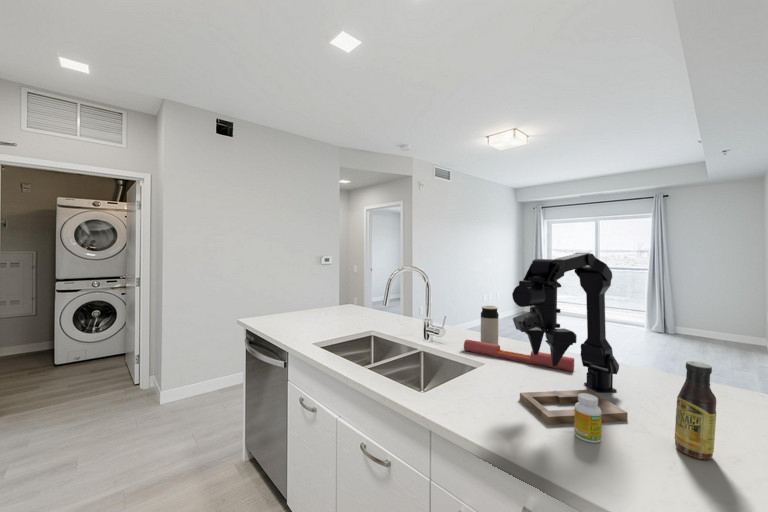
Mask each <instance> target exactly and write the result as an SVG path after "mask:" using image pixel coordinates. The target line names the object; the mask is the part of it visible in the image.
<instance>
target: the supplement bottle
mask: <svg viewBox="0 0 768 512" xmlns="http://www.w3.org/2000/svg"><path fill="white" fill-rule="evenodd" d="M578 401H579V402H577V403H574V409H575V423H574V435H575V436H576V438H578V439H579V440H582V441H584V442H587V443H591V444H596V443H599V442H601V440H602V422H601V409H600V408H599V407H598V406H597V405H598V398H597V397H596V396H594V395H591V394H587V393H580V394H578Z"/></svg>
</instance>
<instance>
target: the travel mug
mask: <svg viewBox="0 0 768 512" xmlns="http://www.w3.org/2000/svg"><path fill="white" fill-rule="evenodd" d="M498 308H499V307H498V306H496V305H481V312H480V342H484V343H490V344H496V345H499V313H498Z"/></svg>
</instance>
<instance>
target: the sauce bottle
mask: <svg viewBox="0 0 768 512" xmlns="http://www.w3.org/2000/svg"><path fill="white" fill-rule="evenodd" d="M685 369H686V373H685V374H686V376H685V381H684V383H683V384H682V387H681V389H680V391H679V393H678V395H677V397H676V407H675V426H674V427H675V428H674V441H675V442H674V445H675V447H676V449H677V450H678V451H679V452H681V453H683V454H685V455H687V456H690V457H692V458H694V459H698V460H706V461H707V460H710V459H712V458H713V456H714V455H713V454H714V452H715V438H716V437H715V436H716V421H717V410H716V409H717V398H716V396H715V393H714V392H713V391H712V389H711V382H710V381H711V374H712V373H713V367H712V366H711V365H709V364H708V363H704V362H701V361H693V360H689V361H686V363H685Z"/></svg>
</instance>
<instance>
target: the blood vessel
mask: <svg viewBox="0 0 768 512" xmlns="http://www.w3.org/2000/svg"><path fill="white" fill-rule="evenodd" d="M463 350H464V351H465V350H466V351H465V352H469V351H471V352H470V353H474V352H476V353H475V354H479V353H481V354H480V355H484V354H486V355H485V356H490V355H491V357H495V356H496V358H500V357H501V358H500V359H505V358H506V360H510V359H511V361H515V360H516V362H520V361H521V363H525V362H526V364H530V363H531V364H532V365H537V366H540V367H545V368H551V367H552V369H556V368H557V370H562V371H566V372H574V370H575V358H574V357H571V356H565V355H563V356H562V358H561V360H560V361H559V363H558V365H557V366H552V362H551V353H548V352H547V353H546V352H540V351H539V352H538V355H534V354H533V351H532V350H531V352H530V354H524V353H518V352H513V351H508V350H504V349H503V350H501V346H500V345H499V344H498V345H496V344H490V343H484V342H481V341H477V340H472V339H467V338H466V339H465V340H464V343H463Z"/></svg>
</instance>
